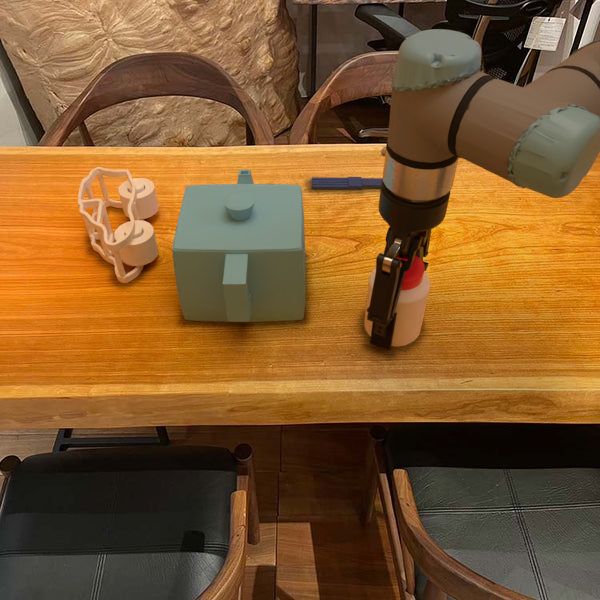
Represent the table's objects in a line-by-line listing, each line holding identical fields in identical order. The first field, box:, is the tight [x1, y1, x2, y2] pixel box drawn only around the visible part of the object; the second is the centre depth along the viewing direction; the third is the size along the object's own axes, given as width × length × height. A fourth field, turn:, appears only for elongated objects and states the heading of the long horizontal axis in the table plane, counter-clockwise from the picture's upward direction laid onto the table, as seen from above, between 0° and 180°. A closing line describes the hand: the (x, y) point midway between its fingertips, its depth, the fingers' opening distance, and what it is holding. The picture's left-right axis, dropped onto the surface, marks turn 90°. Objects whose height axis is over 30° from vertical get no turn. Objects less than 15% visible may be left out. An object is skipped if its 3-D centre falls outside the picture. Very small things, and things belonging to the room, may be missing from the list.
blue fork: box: [310, 176, 383, 191], centre depth 102 cm, size 21×3×1 cm, turn 89°
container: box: [171, 169, 307, 323], centre depth 80 cm, size 17×25×15 cm
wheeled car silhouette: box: [77, 166, 160, 284], centre depth 90 cm, size 20×11×7 cm, turn 9°
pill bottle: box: [363, 255, 431, 347], centre depth 76 cm, size 8×8×11 cm
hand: (392, 323), depth 80 cm, fingers closed on pill bottle, 8 cm apart
